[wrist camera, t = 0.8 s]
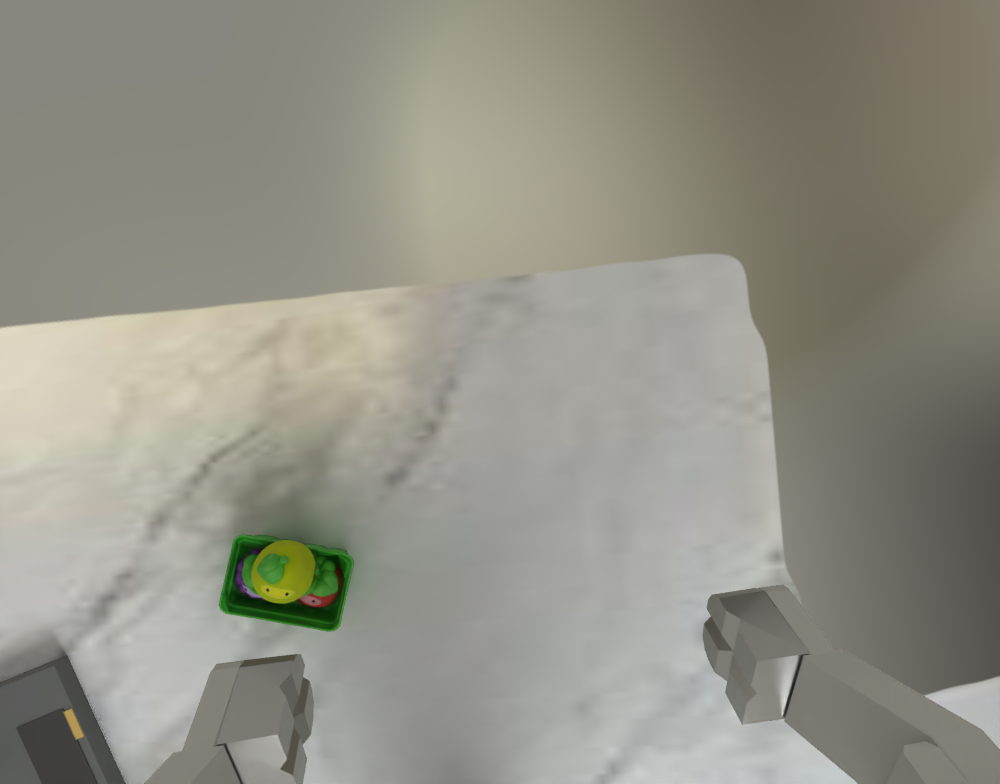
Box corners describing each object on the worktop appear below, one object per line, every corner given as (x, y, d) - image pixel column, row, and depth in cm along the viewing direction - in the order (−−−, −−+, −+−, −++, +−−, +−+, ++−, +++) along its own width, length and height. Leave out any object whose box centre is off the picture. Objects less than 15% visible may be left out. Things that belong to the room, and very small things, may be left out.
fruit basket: (234, 592, 59) (188, 644, 48) (253, 508, 59) (212, 539, 48) (345, 611, 60) (327, 665, 49) (364, 529, 60) (349, 564, 49)
